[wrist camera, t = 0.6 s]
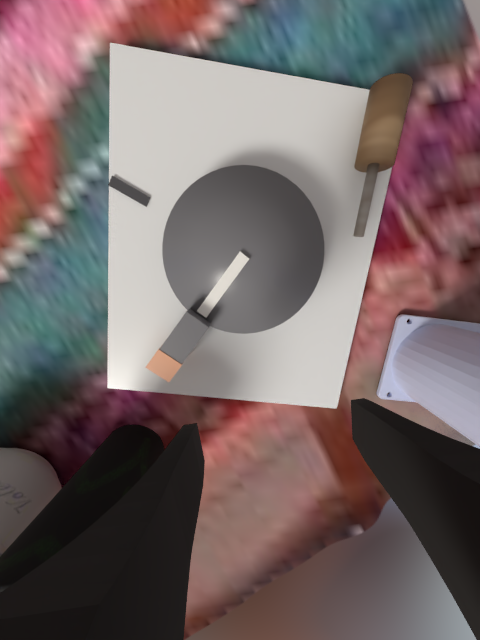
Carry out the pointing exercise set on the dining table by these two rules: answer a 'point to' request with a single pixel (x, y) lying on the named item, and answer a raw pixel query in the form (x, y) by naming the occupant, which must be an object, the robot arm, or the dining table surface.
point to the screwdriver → (380, 135)
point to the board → (209, 155)
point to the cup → (82, 499)
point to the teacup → (23, 491)
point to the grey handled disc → (237, 257)
